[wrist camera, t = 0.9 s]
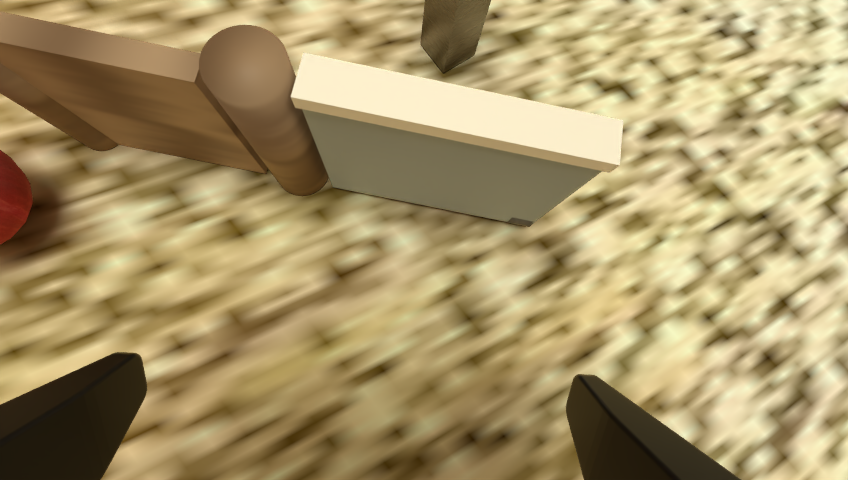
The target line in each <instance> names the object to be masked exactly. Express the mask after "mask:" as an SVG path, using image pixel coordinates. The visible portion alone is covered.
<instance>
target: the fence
mask: <svg viewBox="0 0 848 480" xmlns="http://www.w3.org/2000/svg"><path fill="white" fill-rule="evenodd" d="M295 80H296V76H295V73H294V70H293V68H292V65H291V62H290V60H289V57H288V54H287V52H286V49H285V47H284V45H283V43H282V42H281V41H280V40H279V38H277V37H276V36H275V35H274V34H273V33H271V32H270V31H268V30H266V29H263V28H261V27H257V26H252V25H238V26H233V27H229V28H226V29H224V30H222V31H220V32H218V33H217V34H215V35H214V36H213V37H212V38H210V39H209V40H208V42H207V43H206V44H205V46H204V47H203V49H202V51H201V54H200V53H195V52H191V51H186V50H181V49H176V48H171V47H167V46H162V45H157V44H152V43H148V42H143V41H138V40H133V39H129V38H124V37H119V36H114V35H110V34H105V33H100V32H95V31H90V30H86V29H81V28H76V27H71V26H67V25H62V24H57V23H52V22H48V21H43V20H38V19H33V18H28V17H24V16H19V15H14V14H9V13H5V12H0V93H1V94H3V95H4V96H6V97H7V98H9V99H11V100H12V101H14V102H16V103H17V104H19V105H21V106H22V107H24V108H25V109H27V110H29V111H30V112H32V113H34V114H35V115H37V116H39V117H40V118H42V119H43V120H45V121H47V122H48V123H50V124H52V125H53V126H55V127H57V128H58V129H60V130H61V131H63V132H65V133H66V134H68V135H70V136H71V137H73V138H74V139H76V140H78V141H79V142H81V143H83V144H84V145H86V146H88V147H89V148H91V149H93V150H98V151H104V150H109V149H112V148H114V147H116V146H117V145H118V144H119V145H124V146H129V147H134V148H139V149H144V150H149V151H154V152H159V153H164V154H169V155H174V156H179V157H184V158H189V159H194V160H199V161H204V162H209V163H214V164H219V165H224V166H229V167H234V168H239V169H244V170H249V171H254V172H259V173H264V174H266V173H267V169H269V170H270V171H271V173H272V174H273V175H274V177H275V178H276V179H277V181H278V182H279V184H280V185H281V186H282V187H283V188H284V189H285V190H286V191H287V192H289V193H291V194H294V195H298V196H306V195H311V194H313V193H315V192H317V191H319V190H320V189H321V188H322V187H323V186H324V185H325V183H326V181H327V179H328V174H327V171H326V169H325V166H324V163H323V161H322V158H321V156H320V153H319V151H318V148H317V146H316V143H315V141H314V138H313V136H312V133H311V131H310V128H309V126H308V123H307V121H306V118H305V115H304V113H303V110H302V109H299V108H295V106H294V104H293V101H292V99H291V94H292V90H293V87H294V83H295Z"/></svg>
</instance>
